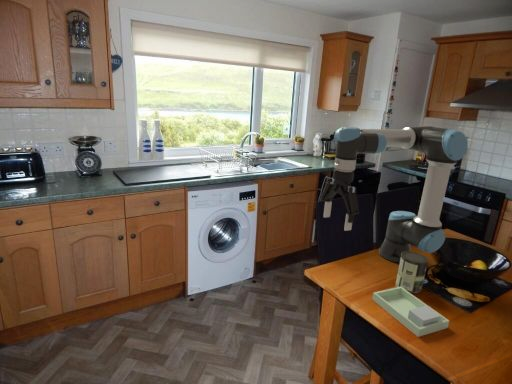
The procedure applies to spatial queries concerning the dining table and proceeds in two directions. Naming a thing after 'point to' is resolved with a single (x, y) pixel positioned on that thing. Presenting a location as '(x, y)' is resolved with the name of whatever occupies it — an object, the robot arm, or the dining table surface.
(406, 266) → the coffee can
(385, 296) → the tray
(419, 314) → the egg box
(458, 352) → the dining table surface
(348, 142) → the robot arm
